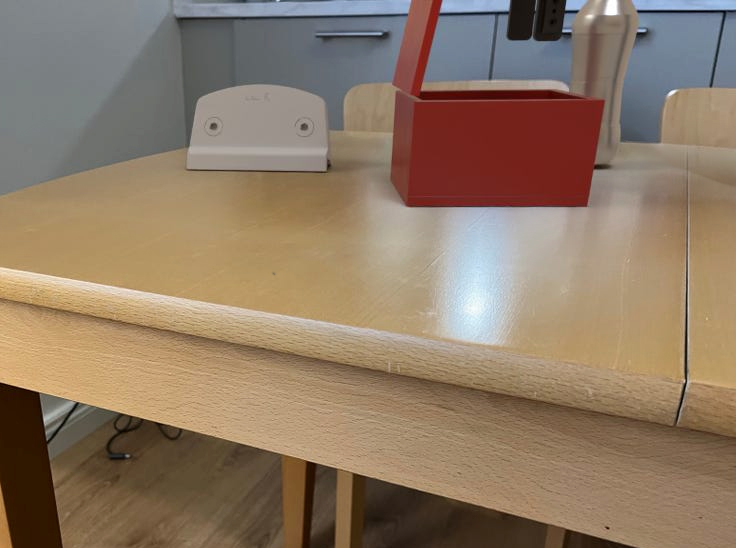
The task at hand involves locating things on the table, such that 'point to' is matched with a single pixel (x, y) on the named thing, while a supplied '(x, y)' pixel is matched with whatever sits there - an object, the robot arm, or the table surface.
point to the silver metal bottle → (603, 62)
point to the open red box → (495, 147)
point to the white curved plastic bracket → (260, 130)
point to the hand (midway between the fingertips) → (531, 40)
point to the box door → (416, 45)
